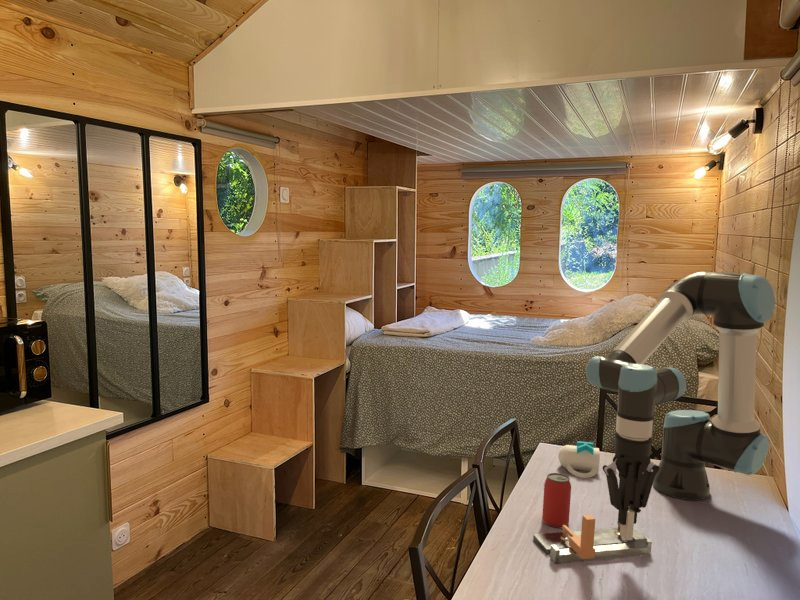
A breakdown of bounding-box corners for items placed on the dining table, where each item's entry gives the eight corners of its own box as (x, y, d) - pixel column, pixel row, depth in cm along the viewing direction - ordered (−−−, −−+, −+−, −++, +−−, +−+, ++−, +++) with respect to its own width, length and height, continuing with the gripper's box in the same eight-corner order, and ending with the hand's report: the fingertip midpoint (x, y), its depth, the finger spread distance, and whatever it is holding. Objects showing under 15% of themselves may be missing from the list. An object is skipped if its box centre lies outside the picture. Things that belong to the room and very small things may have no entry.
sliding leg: (569, 534, 146) (571, 496, 145) (594, 559, 134) (597, 518, 133) (557, 535, 145) (559, 497, 144) (582, 561, 134) (585, 519, 133)
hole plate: (622, 531, 152) (623, 526, 152) (639, 545, 145) (640, 540, 145) (533, 539, 146) (533, 534, 146) (546, 554, 140) (546, 549, 140)
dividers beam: (628, 536, 149) (630, 519, 149) (651, 555, 141) (652, 537, 140) (537, 544, 144) (538, 527, 144) (555, 564, 135) (556, 546, 135)
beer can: (569, 530, 152) (572, 483, 150) (542, 526, 153) (545, 480, 152) (567, 518, 158) (570, 473, 157) (541, 515, 159) (544, 470, 158)
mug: (559, 434, 193) (599, 438, 191) (557, 456, 198) (596, 460, 195) (559, 461, 184) (601, 465, 181) (557, 483, 188) (598, 487, 185)
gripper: (649, 428, 139) (641, 526, 142) (597, 431, 136) (590, 531, 139) (670, 439, 132) (662, 543, 135) (616, 442, 129) (609, 548, 132)
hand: (626, 537), depth 137 cm, fingers closed
